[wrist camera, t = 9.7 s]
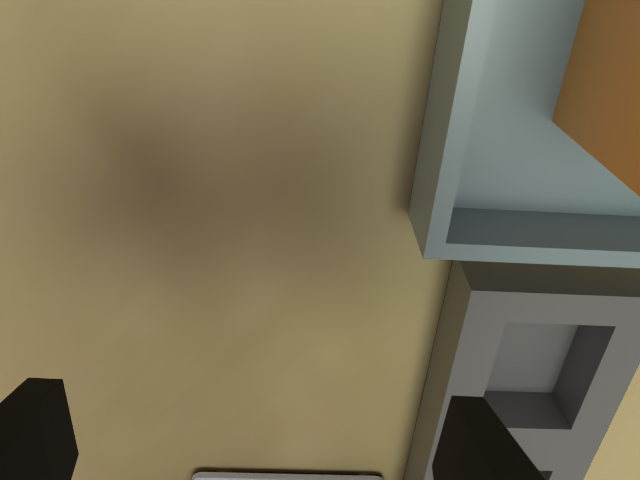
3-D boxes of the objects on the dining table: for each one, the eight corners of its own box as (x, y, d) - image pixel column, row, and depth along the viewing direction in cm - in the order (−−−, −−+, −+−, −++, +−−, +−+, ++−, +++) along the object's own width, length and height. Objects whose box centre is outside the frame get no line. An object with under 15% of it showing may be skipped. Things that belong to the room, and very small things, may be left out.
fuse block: (397, 509, 29) (404, 556, 27) (454, 251, 21) (471, 290, 19) (527, 511, 29) (544, 559, 27) (634, 259, 21) (671, 298, 19)
